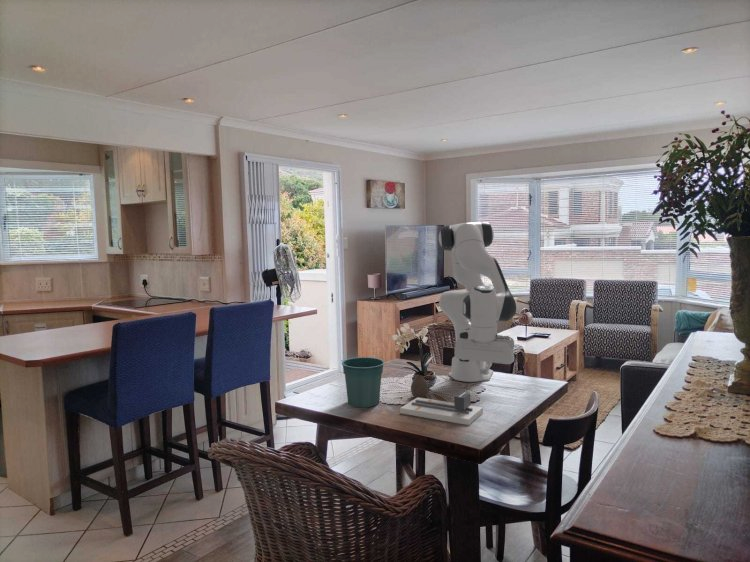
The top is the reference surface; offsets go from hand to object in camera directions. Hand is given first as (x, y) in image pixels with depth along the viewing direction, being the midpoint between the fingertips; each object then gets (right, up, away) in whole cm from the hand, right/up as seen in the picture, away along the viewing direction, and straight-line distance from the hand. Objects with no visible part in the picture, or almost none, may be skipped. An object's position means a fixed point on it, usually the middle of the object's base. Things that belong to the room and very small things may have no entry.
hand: (483, 374), depth 183 cm
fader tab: (-6, -14, +6) cm, 16 cm away
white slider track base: (-13, -16, +10) cm, 23 cm away
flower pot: (-41, -15, +23) cm, 50 cm away
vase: (-20, -14, +29) cm, 38 cm away
